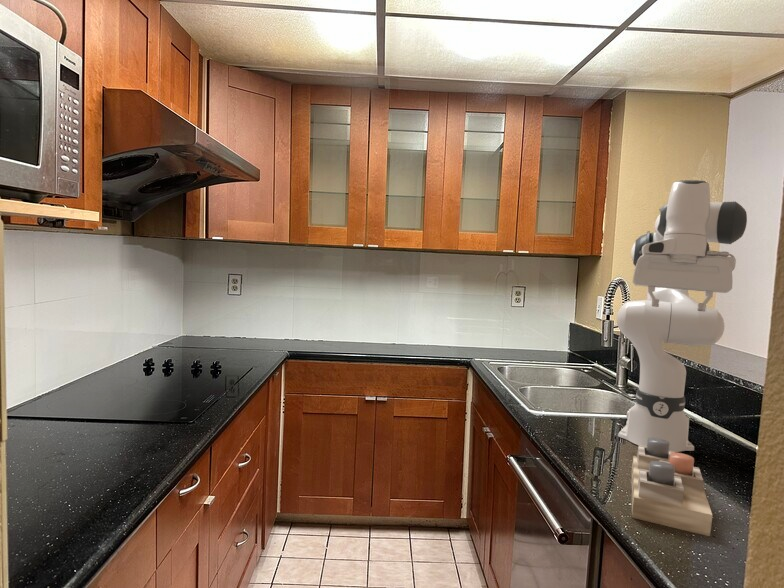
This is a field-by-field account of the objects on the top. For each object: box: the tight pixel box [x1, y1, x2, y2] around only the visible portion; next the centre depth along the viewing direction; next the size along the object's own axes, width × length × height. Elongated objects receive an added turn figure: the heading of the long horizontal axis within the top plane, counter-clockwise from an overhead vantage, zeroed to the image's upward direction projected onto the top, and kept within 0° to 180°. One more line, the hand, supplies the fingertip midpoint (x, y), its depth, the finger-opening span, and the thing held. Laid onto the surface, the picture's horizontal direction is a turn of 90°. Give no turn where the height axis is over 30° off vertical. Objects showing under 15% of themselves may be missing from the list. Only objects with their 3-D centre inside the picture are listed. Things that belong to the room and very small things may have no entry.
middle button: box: [669, 452, 695, 475], centre depth 110 cm, size 4×4×3 cm
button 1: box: [646, 438, 670, 458], centre depth 119 cm, size 4×4×3 cm
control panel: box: [631, 445, 713, 537], centre depth 111 cm, size 25×13×7 cm, turn 156°
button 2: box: [648, 461, 675, 485], centre depth 105 cm, size 4×4×3 cm
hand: (677, 308), depth 124 cm, fingers open, 8 cm apart
